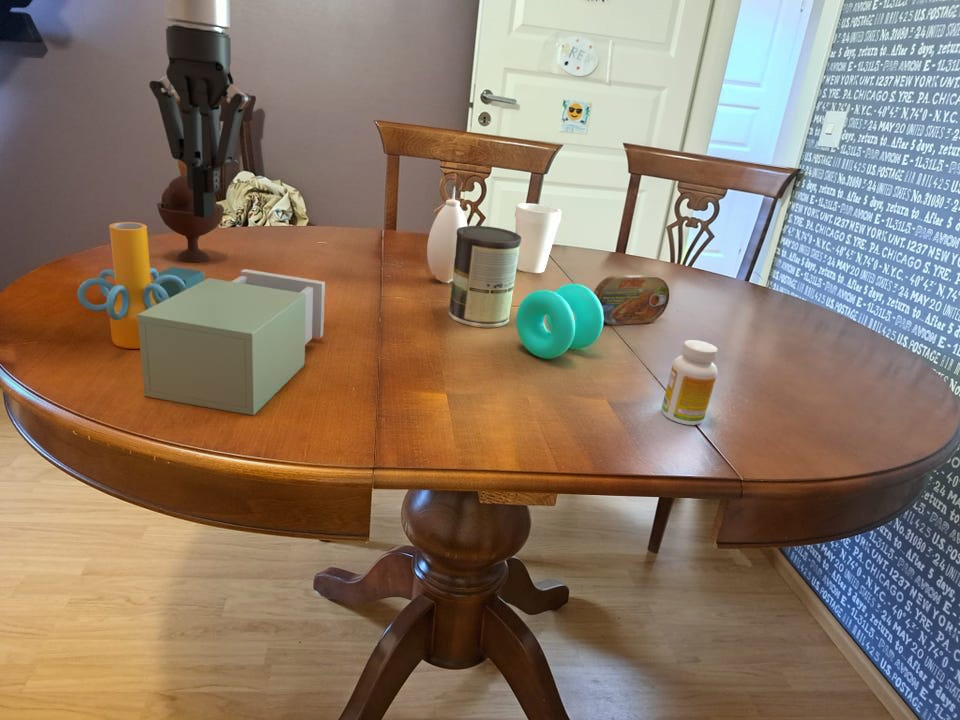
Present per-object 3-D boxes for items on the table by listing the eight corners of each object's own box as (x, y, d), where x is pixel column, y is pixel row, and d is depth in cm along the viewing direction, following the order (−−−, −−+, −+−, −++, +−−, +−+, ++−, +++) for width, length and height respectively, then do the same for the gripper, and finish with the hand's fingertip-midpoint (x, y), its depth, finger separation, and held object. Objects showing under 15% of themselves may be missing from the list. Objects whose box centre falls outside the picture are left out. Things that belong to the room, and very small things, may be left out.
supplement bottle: (712, 421, 84) (732, 351, 80) (685, 429, 81) (705, 357, 77) (678, 402, 88) (696, 335, 84) (652, 410, 85) (669, 340, 81)
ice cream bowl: (236, 262, 121) (234, 179, 116) (175, 269, 114) (169, 180, 108) (209, 248, 128) (205, 168, 122) (149, 253, 120) (142, 169, 114)
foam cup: (514, 273, 137) (523, 211, 132) (502, 261, 145) (510, 201, 140) (557, 276, 140) (567, 214, 134) (543, 263, 148) (552, 205, 143)
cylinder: (87, 362, 78) (71, 238, 73) (80, 330, 86) (66, 216, 80) (197, 351, 85) (190, 236, 79) (181, 322, 93) (175, 216, 87)
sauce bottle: (468, 279, 129) (479, 185, 122) (460, 290, 122) (471, 191, 115) (430, 272, 130) (438, 179, 123) (419, 283, 123) (428, 185, 116)
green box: (211, 348, 86) (208, 277, 82) (304, 364, 85) (306, 293, 81) (144, 396, 73) (136, 314, 69) (253, 415, 72) (252, 333, 68)
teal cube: (155, 307, 97) (152, 274, 95) (174, 298, 101) (172, 266, 99) (187, 313, 96) (185, 280, 94) (205, 303, 101) (203, 271, 99)
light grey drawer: (264, 308, 99) (264, 258, 96) (338, 320, 98) (340, 270, 95) (194, 357, 81) (191, 297, 78) (284, 373, 80) (284, 312, 77)
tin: (595, 326, 113) (604, 278, 109) (585, 319, 115) (594, 273, 112) (664, 323, 119) (675, 277, 116) (653, 316, 121) (664, 272, 118)
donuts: (600, 356, 100) (613, 293, 96) (559, 370, 93) (572, 303, 89) (549, 334, 106) (559, 274, 102) (507, 346, 99) (517, 282, 95)
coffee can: (435, 316, 108) (444, 230, 102) (468, 302, 116) (477, 222, 111) (490, 333, 104) (502, 244, 98) (520, 317, 112) (532, 235, 106)
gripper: (261, 37, 86) (260, 217, 95) (166, 23, 87) (175, 203, 96) (233, 32, 79) (235, 227, 88) (131, 17, 80) (144, 212, 89)
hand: (204, 215), depth 92 cm, fingers closed
